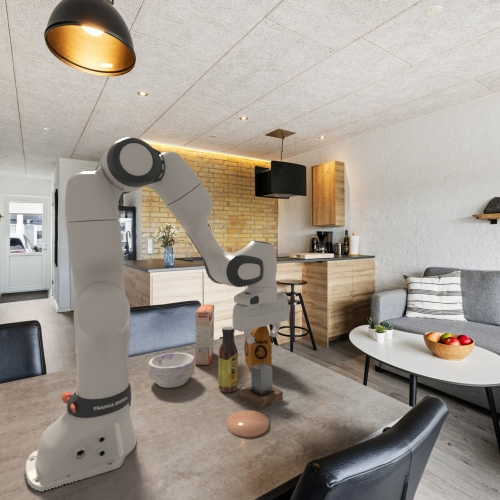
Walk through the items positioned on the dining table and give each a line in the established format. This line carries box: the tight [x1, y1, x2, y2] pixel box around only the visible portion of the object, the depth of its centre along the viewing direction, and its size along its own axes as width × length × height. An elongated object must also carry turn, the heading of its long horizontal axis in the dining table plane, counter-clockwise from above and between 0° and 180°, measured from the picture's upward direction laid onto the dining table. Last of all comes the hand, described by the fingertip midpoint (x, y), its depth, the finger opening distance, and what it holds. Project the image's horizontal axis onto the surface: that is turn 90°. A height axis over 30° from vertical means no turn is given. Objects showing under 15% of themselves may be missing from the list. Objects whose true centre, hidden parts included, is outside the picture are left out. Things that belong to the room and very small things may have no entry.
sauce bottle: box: [217, 326, 239, 393], centre depth 107 cm, size 6×6×20 cm
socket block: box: [240, 385, 284, 411], centre depth 101 cm, size 9×9×2 cm
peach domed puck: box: [226, 410, 270, 438], centre depth 87 cm, size 11×11×1 cm
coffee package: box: [243, 325, 273, 371], centre depth 125 cm, size 10×12×22 cm
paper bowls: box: [148, 352, 196, 389], centre depth 112 cm, size 15×15×8 cm
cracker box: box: [194, 304, 215, 366], centre depth 133 cm, size 14×6×21 cm, turn 179°
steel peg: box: [250, 363, 273, 397], centre depth 101 cm, size 4×4×10 cm
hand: (262, 339), depth 100 cm, fingers open, 8 cm apart
